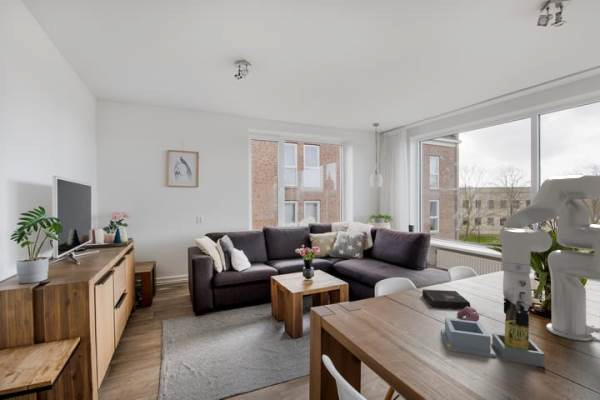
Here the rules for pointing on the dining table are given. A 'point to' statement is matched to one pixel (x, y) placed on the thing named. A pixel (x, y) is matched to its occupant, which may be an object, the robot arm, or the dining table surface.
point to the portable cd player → (445, 299)
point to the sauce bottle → (515, 331)
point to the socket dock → (467, 337)
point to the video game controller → (469, 314)
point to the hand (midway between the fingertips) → (515, 319)
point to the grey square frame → (518, 352)
